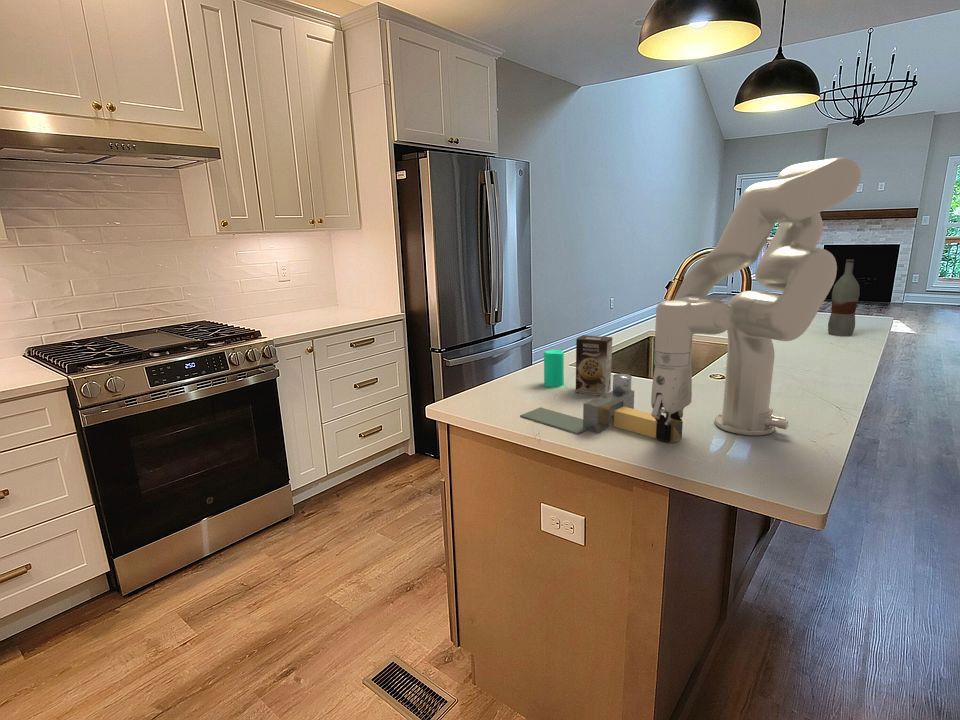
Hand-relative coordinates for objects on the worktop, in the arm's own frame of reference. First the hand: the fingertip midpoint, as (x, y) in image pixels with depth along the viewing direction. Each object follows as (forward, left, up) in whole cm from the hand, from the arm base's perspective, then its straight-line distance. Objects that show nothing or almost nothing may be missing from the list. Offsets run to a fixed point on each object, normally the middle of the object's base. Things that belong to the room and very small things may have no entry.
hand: (668, 436), depth 116 cm
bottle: (-1, -144, -1) cm, 144 cm away
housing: (+15, 0, 0) cm, 15 cm away
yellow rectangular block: (+5, 0, 0) cm, 5 cm away
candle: (+45, -16, -1) cm, 48 cm away
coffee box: (+32, -18, -1) cm, 37 cm away
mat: (+25, +8, 0) cm, 27 cm away
